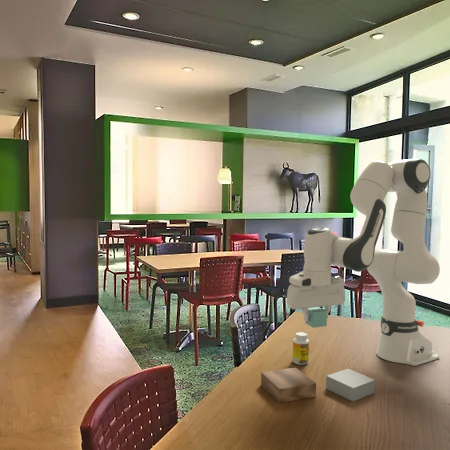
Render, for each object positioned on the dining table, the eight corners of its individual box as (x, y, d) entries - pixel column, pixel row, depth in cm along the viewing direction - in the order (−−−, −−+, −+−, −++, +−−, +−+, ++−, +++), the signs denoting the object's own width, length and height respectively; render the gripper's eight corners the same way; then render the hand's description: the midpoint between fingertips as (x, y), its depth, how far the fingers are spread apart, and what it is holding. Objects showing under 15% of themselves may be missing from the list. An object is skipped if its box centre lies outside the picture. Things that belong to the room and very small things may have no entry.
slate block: (347, 380, 139) (347, 368, 139) (374, 392, 131) (374, 379, 131) (325, 388, 133) (326, 375, 133) (352, 401, 125) (353, 388, 125)
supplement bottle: (300, 366, 150) (301, 337, 149) (289, 361, 154) (290, 332, 153) (311, 363, 153) (312, 334, 152) (300, 358, 157) (301, 330, 156)
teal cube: (318, 321, 146) (318, 306, 145) (326, 326, 141) (327, 310, 141) (305, 323, 144) (305, 308, 144) (313, 327, 139) (313, 312, 139)
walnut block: (295, 379, 139) (295, 367, 139) (315, 396, 128) (316, 383, 128) (260, 384, 135) (261, 372, 134) (279, 402, 124) (279, 389, 123)
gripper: (338, 273, 148) (337, 313, 149) (284, 277, 141) (283, 319, 142) (349, 277, 142) (348, 319, 143) (294, 282, 135) (293, 325, 136)
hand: (315, 319), depth 142 cm, fingers closed on teal cube, 5 cm apart
